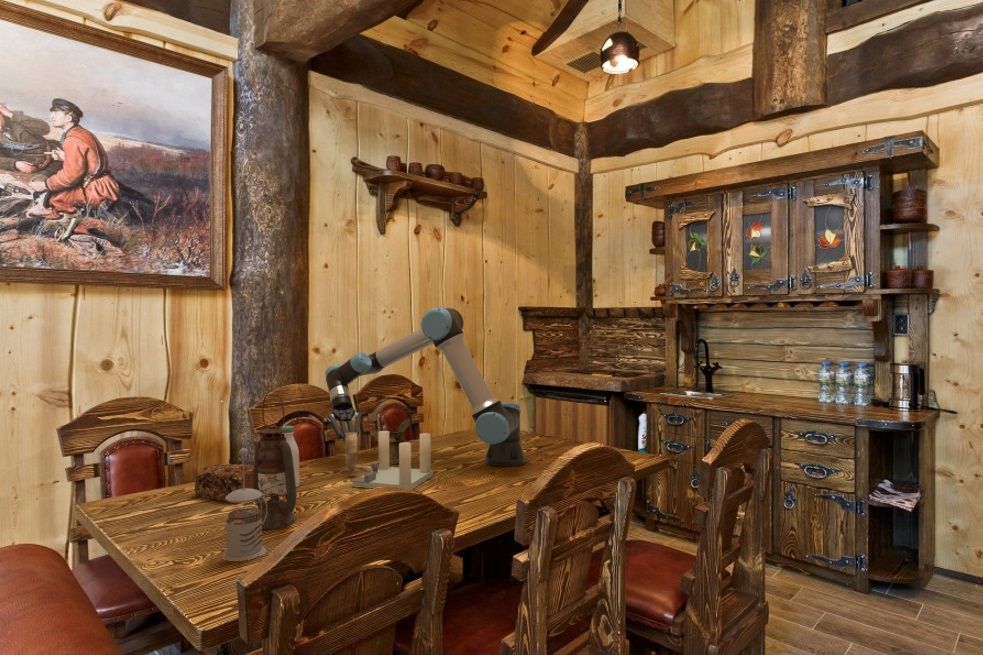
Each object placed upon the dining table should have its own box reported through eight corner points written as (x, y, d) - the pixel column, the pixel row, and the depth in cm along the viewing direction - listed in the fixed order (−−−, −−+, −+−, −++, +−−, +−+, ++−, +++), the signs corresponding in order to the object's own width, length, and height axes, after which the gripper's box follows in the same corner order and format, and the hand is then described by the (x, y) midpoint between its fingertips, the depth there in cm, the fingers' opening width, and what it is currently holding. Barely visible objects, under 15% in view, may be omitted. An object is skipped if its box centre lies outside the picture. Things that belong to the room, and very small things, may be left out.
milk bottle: (304, 485, 197) (303, 425, 196) (287, 491, 190) (286, 429, 189) (286, 482, 200) (286, 423, 199) (269, 488, 193) (268, 427, 192)
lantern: (277, 534, 152) (276, 398, 151) (237, 523, 160) (236, 394, 160) (310, 521, 161) (309, 393, 161) (271, 511, 170) (270, 390, 169)
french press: (212, 558, 137) (210, 451, 136) (249, 540, 148) (248, 441, 147) (245, 564, 133) (244, 454, 133) (280, 545, 144) (279, 443, 144)
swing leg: (380, 470, 206) (379, 433, 205) (374, 473, 202) (374, 435, 202) (349, 467, 209) (349, 431, 209) (343, 470, 205) (343, 434, 205)
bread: (264, 495, 186) (264, 463, 186) (238, 504, 177) (237, 471, 176) (220, 488, 194) (219, 458, 193) (192, 498, 184) (192, 466, 184)
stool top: (432, 475, 207) (432, 433, 207) (407, 492, 188) (407, 445, 187) (380, 471, 213) (379, 430, 213) (350, 487, 194) (349, 441, 194)
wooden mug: (401, 468, 219) (401, 419, 218) (374, 463, 226) (373, 416, 225) (416, 463, 226) (416, 416, 226) (389, 458, 233) (389, 413, 233)
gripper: (356, 405, 230) (368, 456, 216) (322, 408, 224) (332, 461, 210) (359, 393, 225) (372, 445, 211) (325, 395, 219) (335, 449, 205)
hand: (352, 453), depth 210 cm, fingers closed
